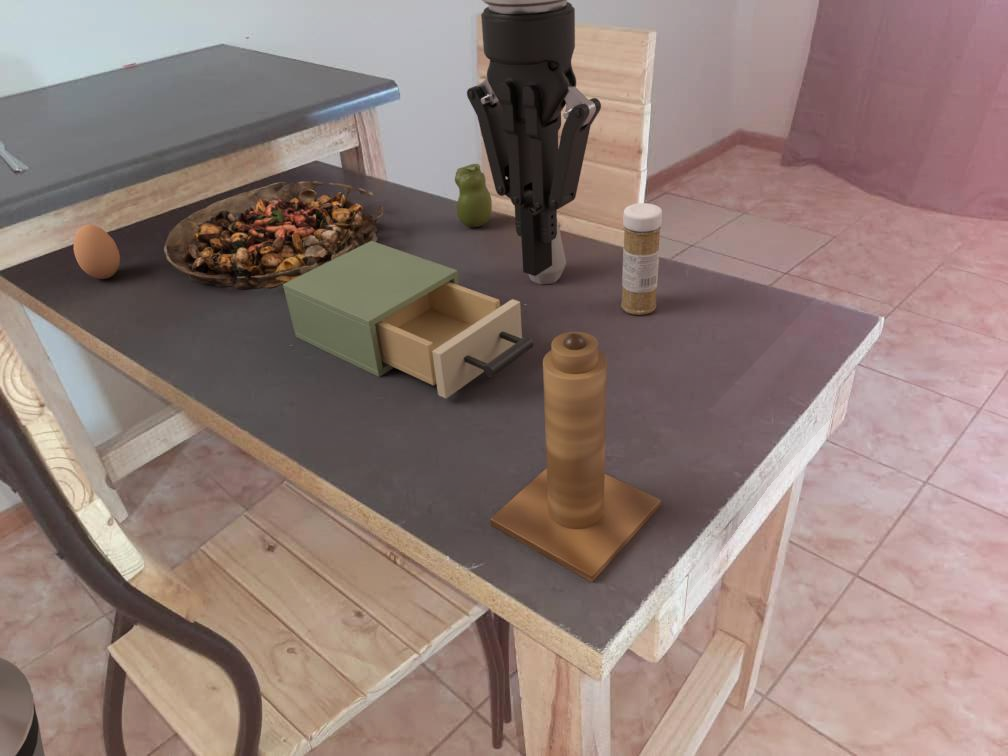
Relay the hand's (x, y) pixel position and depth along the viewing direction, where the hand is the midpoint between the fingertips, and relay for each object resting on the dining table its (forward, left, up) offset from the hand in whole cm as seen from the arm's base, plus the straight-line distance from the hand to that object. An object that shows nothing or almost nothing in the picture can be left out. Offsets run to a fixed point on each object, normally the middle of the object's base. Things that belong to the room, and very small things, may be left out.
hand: (537, 268), depth 75 cm
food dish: (+9, +59, -16) cm, 62 cm away
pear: (+31, +37, -16) cm, 51 cm away
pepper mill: (-12, -13, -15) cm, 23 cm away
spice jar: (+23, +2, -16) cm, 28 cm away
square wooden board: (-12, -13, -16) cm, 24 cm away
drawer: (0, +13, -15) cm, 20 cm away
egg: (-13, +72, -16) cm, 75 cm away
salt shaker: (+23, +17, -16) cm, 33 cm away
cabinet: (0, +26, -16) cm, 31 cm away
